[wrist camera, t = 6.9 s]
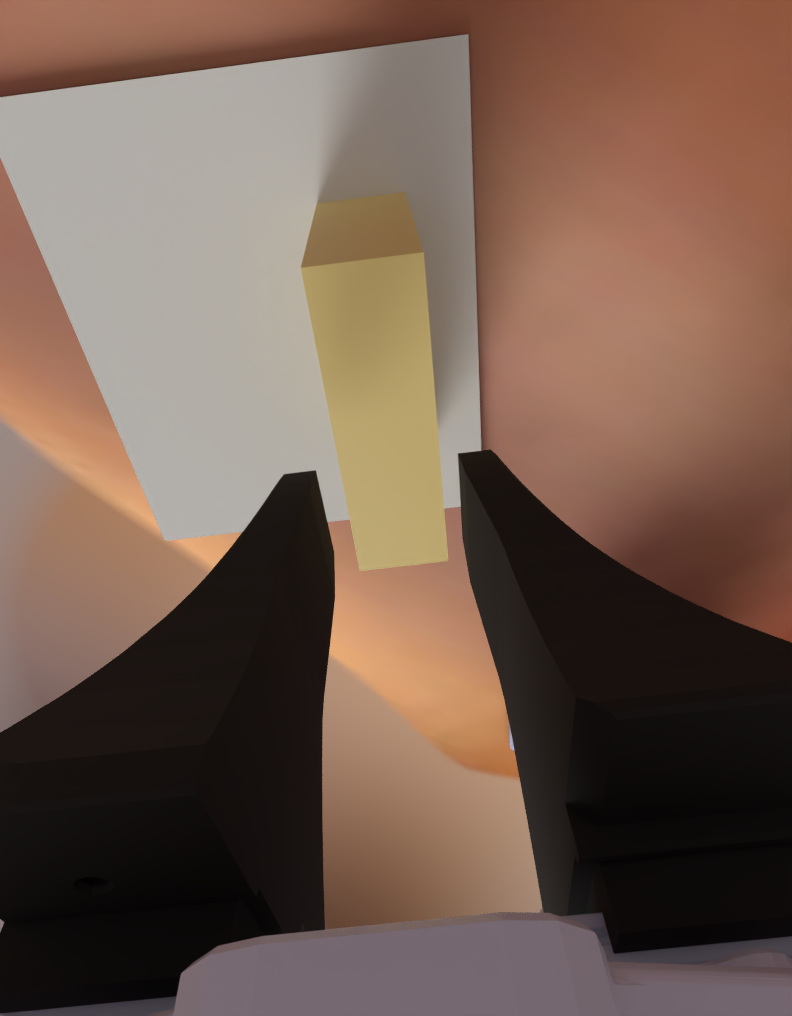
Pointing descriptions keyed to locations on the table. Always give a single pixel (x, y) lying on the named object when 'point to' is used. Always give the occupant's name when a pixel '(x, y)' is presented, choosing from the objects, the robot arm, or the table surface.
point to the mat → (244, 255)
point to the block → (378, 375)
